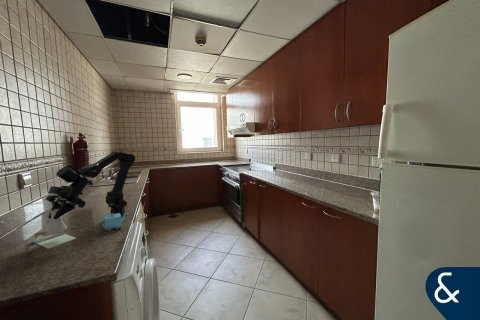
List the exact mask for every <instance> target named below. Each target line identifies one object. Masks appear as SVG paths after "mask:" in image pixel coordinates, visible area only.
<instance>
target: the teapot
mask: <svg viewBox="0 0 480 320" xmlns="http://www.w3.org/2000/svg"><path fill="white" fill-rule="evenodd" d="M126 214H128V212H125V214H124V215H123V217H122V218H121V215H120V213H118V214H111V213H110V214H109V215H104V216H103V218H101V220H100V223H101V224H102V228H104V230H105V231H107V232H111V231H112V229H116V230H118V229H120V228H121V227H123V224H122V223H123V222H124V220H125V219H126V218H125V217H126V216H127V215H126Z"/></svg>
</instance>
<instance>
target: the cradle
mask: <svg viewBox="0 0 480 320" xmlns="http://www.w3.org/2000/svg"><path fill="white" fill-rule="evenodd" d="M64 234H65V232H62V233H58V234H53V235H45V236H44V235H42V234H41V235H38V236H36V237H34V236H32V239H33V240H32V241H31V242H33V243H34V244H37V243H40V242H43V241H46V240H49V239H52V238H55V237H58V236H61V235H64Z"/></svg>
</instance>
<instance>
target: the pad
mask: <svg viewBox="0 0 480 320" xmlns="http://www.w3.org/2000/svg"><path fill="white" fill-rule="evenodd" d="M76 239H77V237H74V236H72V235H69V234H66V233H64V234H63V235H60V236H57V237H54V238H51V239H48V240H45V241H41V242H38V243H36V244H37V245H39V246H41V247H43V248H45V249H48V250H49V249H51V248H54V247H57V246H60V245H63V244H66V243H68V242H70V241H74V240H76Z"/></svg>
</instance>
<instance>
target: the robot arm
mask: <svg viewBox="0 0 480 320" xmlns="http://www.w3.org/2000/svg"><path fill="white" fill-rule="evenodd" d="M115 161H118V164H119V166H120V167H119V169H118V171H117V172H118V173H117V176H116V178H115V183H114V184H113V185H114V186H113V188H112V190H111V191H107V192H106V195H105V198H104V199H105V204H106V205H107V207H109V208H110V211H109V212H110V214H118V213H120V215H121V218H122V217H123V215H124V214H125V213H126V210H125V209H126V208H125V207H127V206H128V202H127V201H126V200H125V199H124V192H123V190H124V186H125V183H126V180H127V176H128V174H129V170H130V168H131V167H132V166H133V165H134V163H135V161H136V156H135V154H133V153H126V152H122V151H118V150H116V151H114V150H113V151H111V152H110V153H109V154H107V155H106V156H104V157H102V158H101V159H99V160H98V161H96V162H94V163H90V164H87V165H84V166H82V167H81V168H79V169H76V168H75V167H74V166H73V165H71V164H66V166H64V167H62V168H60V169H58V171H57V172H56V174H55V175H56V177H58V178H60V179H61V180H63V181H64V182H66V183H68V184H69V186H68V185H63V184H62V185H61V186H54V185H53V186H50V187H49V190H48V192H47V193H48V194H50V195H48V196H46V198H45V200H46V201H47V202H50V203H51V205H52V207H51V210H54V209H59V210H58V211H57V213H56V214H55V216H54V219H57V218H59V217H61V218H62V216H64V215H65V214H67V213H69V212H71V211H72V210H75V209H76V208H77V207H78V208H79V209H80V208H81V209H83V208H85V206H86V203H87V202H86V201H85V200H84V199H82V198H80V197H79V196H82V195H83V194H84V193H83V191H84V190H85V189H86V187H88V186H93V185H94V184H93V180H92V179H94V178H97V177H98V175H100V174H101V173H102V171H103V169H105V168H106V167H108V166H109V165H110V164H112V163H114V162H115ZM70 183H71V184H70ZM76 206H77V207H76ZM51 210H50V211H51ZM48 214H49V215H48V216H47V217H48V219H50V220H51V213H50V212H49V213H48ZM127 214H128V213H127ZM127 214H126V215H125V216H127Z"/></svg>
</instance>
